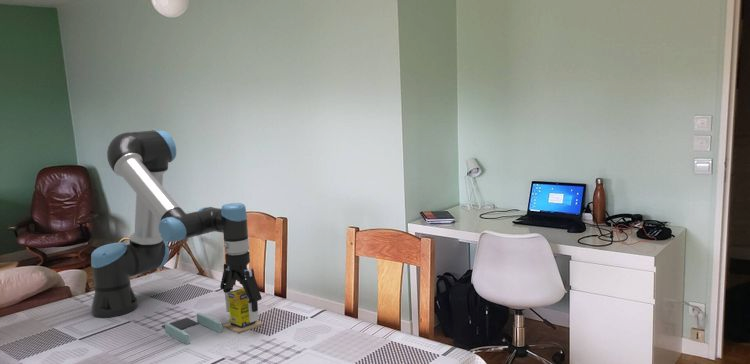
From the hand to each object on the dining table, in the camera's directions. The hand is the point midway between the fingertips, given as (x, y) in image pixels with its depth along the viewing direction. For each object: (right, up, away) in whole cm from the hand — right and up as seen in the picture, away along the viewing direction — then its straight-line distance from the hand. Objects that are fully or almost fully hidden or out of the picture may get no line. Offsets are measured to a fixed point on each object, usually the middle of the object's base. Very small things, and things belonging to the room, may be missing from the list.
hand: (242, 315), depth 179 cm
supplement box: (0, -3, +1) cm, 3 cm away
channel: (-15, -4, -3) cm, 16 cm away
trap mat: (-21, -4, +3) cm, 22 cm away
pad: (0, -3, 0) cm, 3 cm away
